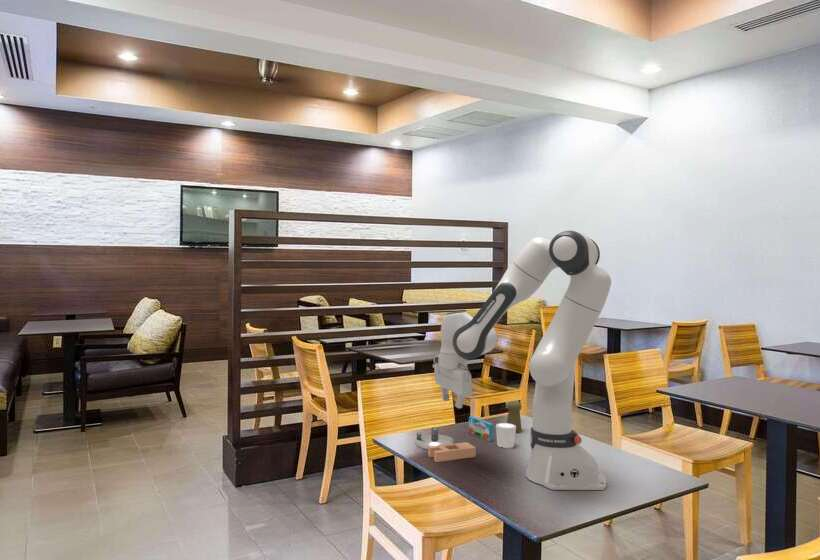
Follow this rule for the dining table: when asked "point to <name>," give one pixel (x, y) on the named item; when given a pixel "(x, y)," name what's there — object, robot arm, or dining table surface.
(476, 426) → the blue printed cardboard box
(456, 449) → the orange letter a block
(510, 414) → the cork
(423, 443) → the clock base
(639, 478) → the dining table surface
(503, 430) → the white cylindrical downlight
